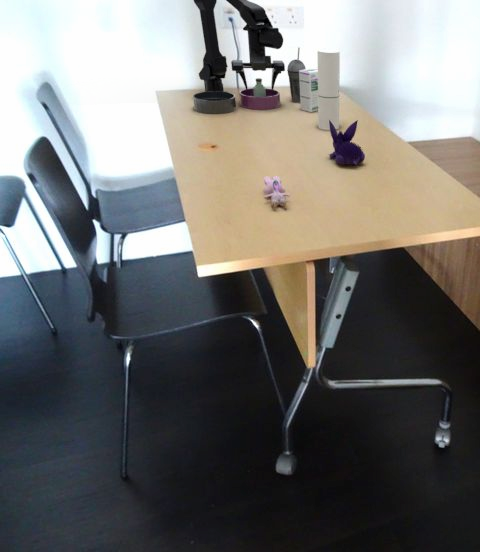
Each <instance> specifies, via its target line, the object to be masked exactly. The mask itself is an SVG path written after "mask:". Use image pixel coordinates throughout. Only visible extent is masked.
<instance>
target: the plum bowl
mask: <svg viewBox="0 0 480 552" xmlns="http://www.w3.org/2000/svg"><path fill="white" fill-rule="evenodd" d="M247 89H248V90H246V88H244V89H242V90H240V91H239V93H238V94H239V105H240V107H241V108H243V109H246V110H253V111H268V110H275V109H278V108H279V107H281V93H280V91H279V90H277V89H273V90H272V88H266V87H265V90H266V97H254V92H253V87H252V88H247Z"/></svg>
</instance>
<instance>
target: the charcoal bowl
mask: <svg viewBox="0 0 480 552" xmlns="http://www.w3.org/2000/svg"><path fill="white" fill-rule="evenodd" d="M192 102H193V110H194V111H195V112H197V113H199V114H200V113H201V114H206V115H223V114H230V113H234V112H235V111H236V110H237V98H236V94H234V93H232V92H230V91H224V92H223V91H205V90H204V91H199V92H196V93H194V94H193V95H192Z"/></svg>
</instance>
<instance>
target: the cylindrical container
mask: <svg viewBox="0 0 480 552" xmlns="http://www.w3.org/2000/svg"><path fill="white" fill-rule="evenodd" d="M340 55H341V52H340V50H338V49H335V48H319V49H317V70H318V111H317V112H318V113H317V116H318V117H317V118H318V119H317V120H318V127H317V128H318V129H320V130H323V131H330V125H329V120H330V121H331V123H332V124H333V125H334V127H335V129H336V130H340V75H341V74H340V69H341V68H340V66H341V65H340V63H341V62H340V61H341V60H340V57H341V56H340Z"/></svg>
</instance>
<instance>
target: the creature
mask: <svg viewBox="0 0 480 552" xmlns="http://www.w3.org/2000/svg"><path fill="white" fill-rule="evenodd" d="M329 125H330V130H329V132H330V136H331V138H332V147H333V150H334V151H333V152H332V153H328V156H329V158H331V159H334V161H335V162H336V163H337V164H339V165H341V166H343V165H356V166H357V165H358V163H359V164H361V163H363V162H364V161H365V158H366V155H365V152H364V150H363V147H361V146H360V144H357V143H355V142H353V138H355V135H356V131H357V127H358V126H357V125H358V119H356V120H355V121H354V122H352V123H351V124H350V125H349V126H348V127H347V128H346V129H345V131H344V132H343V130H342V129H339V130H337V129H335V127H334V125H333V124H332V123H331V121H330V120H329Z"/></svg>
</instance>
